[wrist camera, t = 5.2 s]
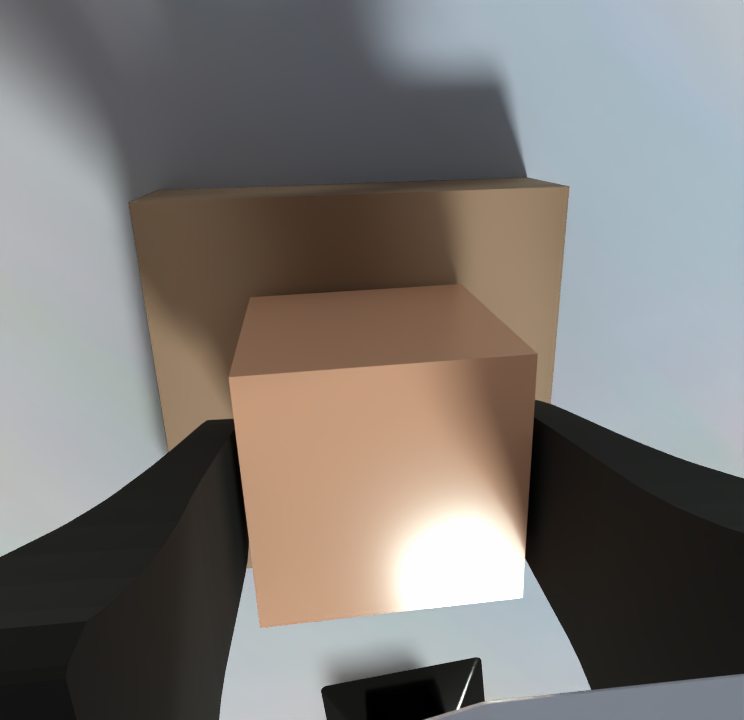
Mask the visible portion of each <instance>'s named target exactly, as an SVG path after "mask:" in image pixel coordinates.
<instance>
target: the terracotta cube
mask: <svg viewBox="0 0 744 720" xmlns="http://www.w3.org/2000/svg"><path fill="white" fill-rule="evenodd" d="M537 359H538V354H537V353H536V352H535V351H534V350H533V349H532V348H531V347H530V346H529V345H527V344H526V343H525V342H524V341H523V340H522V339H521V338H520V337H519V336H518V335H517V334H515V333H514V332H513V331H512V330H511V329H510V328H509V327H508V326H507V325H506V324H504V323H503V322H502V321H501V320H500V319H499V318H498V317H497V316H496V315H495V314H493V313H492V312H491V311H490V310H489V309H488V308H487V307H486V306H485V305H484V304H482V303H481V302H480V301H479V300H478V299H477V298H476V297H475V296H474V295H473V294H471V293H470V292H469V291H468V290H467V289H466V288H465V287H464V286H463V285H462V284H453V285H437V286H421V287H405V288H389V289H373V290H357V291H341V292H326V293H310V294H294V295H278V296H262V297H250V299H249V303H248V307H247V311H246V314H245V318H244V322H243V325H242V329H241V333H240V337H239V340H238V344H237V348H236V351H235V355H234V359H233V362H232V366H231V370H230V374H229V385H230V393H231V401H232V409H233V417H234V425H235V433H236V441H237V448H238V456H239V464H240V472H241V480H242V488H243V496H244V504H245V512H246V520H247V528H248V536H249V544H250V551H251V559H252V567H253V575H254V583H255V591H256V599H257V607H258V615H259V623H260V628H263V627H272V626H281V625H289V624H298V623H307V622H316V621H324V620H333V619H342V618H350V617H359V616H368V615H376V614H385V613H394V612H402V611H411V610H420V609H428V608H437V607H446V606H455V605H463V604H472V603H481V602H489V601H498V600H507V599H515V598H522V595H523V579H524V564H525V548H526V532H527V517H528V501H529V485H530V469H531V454H532V438H533V422H534V406H535V391H536V375H537Z"/></svg>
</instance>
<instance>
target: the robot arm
mask: <svg viewBox="0 0 744 720" xmlns="http://www.w3.org/2000/svg"><path fill="white" fill-rule="evenodd" d="M248 551H249V536H248V528H247V520H246V512H245V504H244V496H243V488H242V480H241V472H240V464H239V456H238V448H237V441H236V433H235V425H234V418H233V419H217V420H207V421H205V422H204V423H202V424H201V425H200V426H199V427H197V428H196V429H195V430H194V431H193V432H192V433H190V434H189V435H188V436H187V437H186V438H185V439H183V440H182V441H181V442H180V443H179V444H178V445H177V446H175V447H174V448H173V449H172V450H171V451H169V452H168V453H167V454H166V455H165V456H163V457H162V458H161V459H160V460H159V461H157V462H156V463H155V464H154V465H153V466H151V467H150V468H149V469H147V470H146V471H145V472H143V473H142V474H141V475H139V476H138V477H137V478H135V479H134V480H133V481H131V482H130V483H129V484H127V485H126V486H125V487H123V488H122V489H121V490H119V491H118V492H117V493H115V494H114V495H112V496H111V497H109V498H108V499H106V500H105V501H103V502H102V503H100V504H99V505H97V506H95V507H94V508H92V509H91V510H89V511H87V512H86V513H84V514H82V515H80V516H79V517H77V518H75V519H74V520H72V521H70V522H69V523H67V524H65V525H63V526H62V527H60V528H58V529H56V530H54V531H52V532H50V533H48V534H46V535H44V536H42V537H40V538H38V539H36V540H34V541H32V542H30V543H28V544H26V545H24V546H22V547H20V548H18V549H16V550H14V551H12V552H10V553H8V554H6V555H4V556H1V557H0V720H219V714H220V704H221V695H222V689H223V683H224V677H225V670H226V666H227V661H228V656H229V651H230V646H231V641H232V636H233V632H234V627H235V622H236V617H237V612H238V607H239V602H240V598H241V593H242V588H243V583H244V578H245V573H246V567H247V562H248ZM525 559H526V561H527V563H528V564H529V566H530V568H531V570H532V572H533V574H534V576H535V578H536V579H537V581H538V583H539V585H540V587H541V589H542V590H543V592H544V594H545V596H546V598H547V600H548V601H549V603H550V605H551V607H552V609H553V611H554V612H555V614H556V616H557V618H558V620H559V622H560V623H561V625H562V627H563V629H564V631H565V633H566V634H567V636H568V638H569V640H570V642H571V644H572V646H573V649H574V651H575V653H576V655H577V657H578V659H579V661H580V663H581V666H582V668H583V671H584V673H585V675H586V678H587V680H588V683H589V685H590V688H591V690H588V691H578V692H569V693H560V694H550V695H541V696H532V697H522V698H513V699H504V700H494V701H485V702H480V703H477V704H474V705H470V706H467V707H464V708H461V709H457V710H454V711H451V712H447V713H444V714H441V715H438V716H434V717H431V718H428V719H425V720H744V478H740V477H737V476H733V475H730V474H727V473H723V472H720V471H717V470H714V469H711V468H707V467H704V466H701V465H698V464H694V463H692V462H689V461H686V460H683V459H680V458H677V457H675V456H672V455H669V454H667V453H664V452H662V451H659V450H656V449H654V448H651V447H649V446H646V445H644V444H641V443H639V442H636V441H634V440H632V439H629V438H627V437H625V436H622V435H620V434H618V433H615V432H613V431H611V430H609V429H606V428H604V427H602V426H600V425H597V424H595V423H593V422H591V421H589V420H586V419H584V418H582V417H580V416H578V415H575V414H573V413H571V412H569V411H566V410H564V409H562V408H559V407H557V406H554V405H552V404H549V403H546V402H543V401H539V400H535V406H534V422H533V438H532V454H531V469H530V485H529V501H528V517H527V532H526V548H525Z"/></svg>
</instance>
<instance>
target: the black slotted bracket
mask: <svg viewBox="0 0 744 720" xmlns="http://www.w3.org/2000/svg"><path fill="white" fill-rule="evenodd" d="M321 693H322V698H323V703H324V708H325V713H326V718H327V720H425V719H428V718H431V717H434V716H438V715H441V714H444V713H447V712H451V711H454V710H457V709H461V708H464V707H467V706H470V705H474V704H477V703H480V702H485V700H484V688H483V676H482V664H481V659H480V658H470V659H465V660H460V661H455V662H449V663H444V664H439V665H434V666H429V667H423V668H418V669H413V670H408V671H402V672H397V673H392V674H387V675H382V676H376V677H371V678H366V679H361V680H355V681H350V682H345V683H340V684H335V685H329V686H325V687H323V688H322V690H321Z"/></svg>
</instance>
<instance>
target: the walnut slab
mask: <svg viewBox="0 0 744 720" xmlns="http://www.w3.org/2000/svg"><path fill="white" fill-rule="evenodd" d="M568 197H569V186H564V185H560V184H555V183H550V182H546V181H541V180H536V179H532V178H499V179H470V180H440V181H411V182H382V183H353V184H323V185H294V186H265V187H236V188H206V189H177V190H157V191H154V192H152V193H150V194H147V195H145V196H143V197H140V198H138V199H136V200H133V201H131V202H129V208H130V214H131V221H132V227H133V233H134V239H135V246H136V252H137V258H138V264H139V270H140V277H141V283H142V289H143V295H144V302H145V308H146V314H147V320H148V327H149V333H150V339H151V345H152V352H153V358H154V364H155V370H156V376H157V383H158V389H159V395H160V401H161V408H162V414H163V420H164V426H165V433H166V439H167V445H168V451H171V450H172V449H173V448H174V447H175V446H177V445H178V444H179V443H180V442H181V441H182V440H183V439H185V438H186V437H187V436H188V435H189V434H190V433H192V432H193V431H194V430H195V429H196V428H197V427H199V426H200V425H201V424H202V423H204V422H205V421H207V420H217V419H233V418H234V417H233V409H232V401H231V393H230V385H229V374H230V370H231V366H232V362H233V359H234V355H235V351H236V348H237V344H238V340H239V337H240V333H241V329H242V325H243V322H244V318H245V314H246V311H247V307H248V303H249V299H250V297H262V296H278V295H294V294H310V293H326V292H341V291H357V290H373V289H389V288H405V287H421V286H437V285H453V284H462V285H463V286H464V287H465V288H466V289H467V290H468V291H469V292H470V293H471V294H473V295H474V296H475V297H476V298H477V299H478V300H479V301H480V302H481V303H482V304H484V305H485V306H486V307H487V308H488V309H489V310H490V311H491V312H492V313H493V314H495V315H496V316H497V317H498V318H499V319H500V320H501V321H502V322H503V323H504V324H506V325H507V326H508V327H509V328H510V329H511V330H512V331H513V332H514V333H515V334H517V335H518V336H519V337H520V338H521V339H522V340H523V341H524V342H525V343H526V344H527V345H529V346H530V347H531V348H532V349H533V350H534V351H535V352H536V353H537V354H538V359H537V375H536V391H535V400H539V401H543V402H546V403H549V404H551V393H552V382H553V370H554V359H555V347H556V336H557V324H558V312H559V301H560V289H561V278H562V266H563V255H564V243H565V231H566V220H567V208H568ZM246 568H253V567H252V559H251V551H250V544H249V551H248V562H247V567H246Z"/></svg>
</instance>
